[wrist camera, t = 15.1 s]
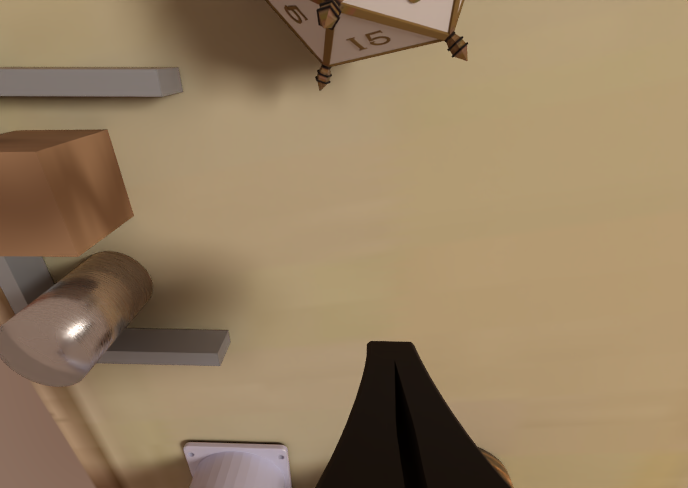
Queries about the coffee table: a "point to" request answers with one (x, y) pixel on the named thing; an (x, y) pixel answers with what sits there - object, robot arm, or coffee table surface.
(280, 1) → the game die
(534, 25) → the coffee table surface
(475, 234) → the coffee table surface
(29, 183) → the walnut block
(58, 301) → the silver cylinder
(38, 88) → the parts pen
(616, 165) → the coffee table surface
